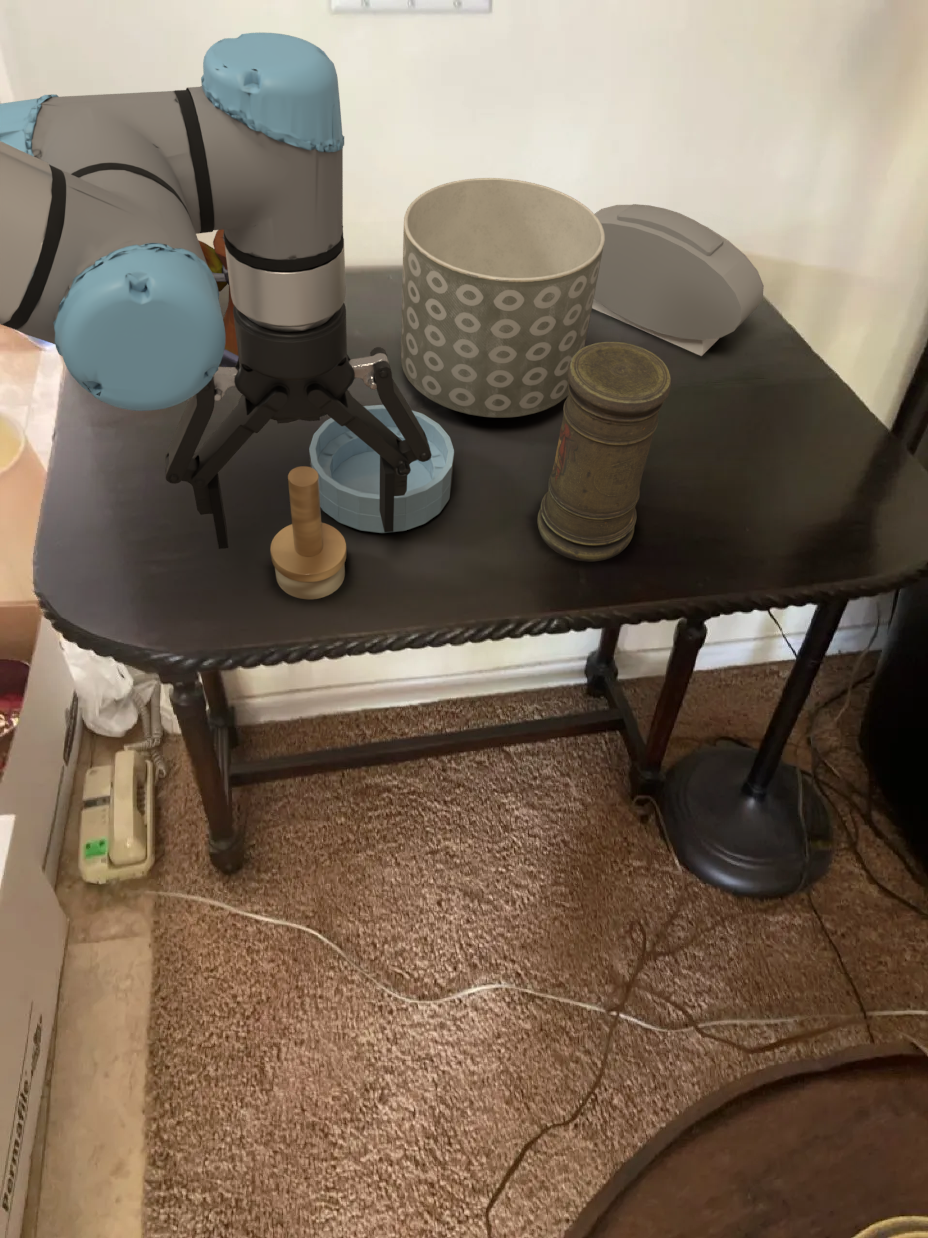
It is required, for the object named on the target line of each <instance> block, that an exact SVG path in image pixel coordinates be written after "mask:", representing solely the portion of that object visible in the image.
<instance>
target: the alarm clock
mask: <svg viewBox="0 0 928 1238" xmlns="http://www.w3.org/2000/svg"><path fill="white" fill-rule="evenodd" d="M594 214H595V215H596V217H597V218H598V219H599V221H600V223H601V224H602V227H603V230H604V234H605V242H604V247H603V252H602V258H601V263H600V268H599V273H598V279H597V284H596V289H595V294H594V300H593V305H592V309H593V310H595V311H597V312H599V313H601V314H605V315H606V316H609V317H611V318H613V319H616V320H618V321H620V322H622V323H624V324H627V325H630V326H631V327H633V328H636V329H638V330H641V331H643V332H645V333H648V334H650V335H652V336H653V337H657V338H659V339H661V340H664V341H666V342H668V343H671V344H673V345H675V346H677V347H680V348H682V349H683V350H687V351H689V352H691V353H693V354H695V355H698V356H700V357H702V356H703V355H704V354H706V352H708V351H709V349H711V347H712V346H714V345H715V343H716V342H717V341H718V340H719V339H721V338H723V337H725V336H727V335H730V334H731V333H733V332H735V331H736V330H737V328H738V327H739V326H741V325H742V324H743V323H744V322H745V320H747V319H748V318H749V317H750V316H751V315H752V314H753V313H754V312H755V310H757V308H758V307H759V305H760V304H761V303H762V301H763V300H764V290H765V289H764V288H765V286H764V283H763V280H762V278H761V276H760V273H759V271H758V269H757V268H756V267H755V265H754V264H753V263H752V261H751V260H750V259H749V258H748V256H747V255H746V254H745V253H743V251H741V250H740V249H739V248H738V247H736V246H735V244H733V243H732V242H731V241H730V240H729V239H727V238H725V237H724V236H722V235H721V234H719V233H717V232H716V231H715V230H713V229H712V228H710V227H708V226H706V225H704V224H702V223H700V222H698V221H697V220H695V219H693V218H691V217H689V216H687V215H685V214H682V213H680V212H677V211H675V210H670V209H668V208H664V207H661V206H654V205H651V204H650V205H649V204H637V203H633V204H615V205H611V206H608V207H607V206H606V207H603V208H600V209H599V210H598V211H596V212H594Z"/></svg>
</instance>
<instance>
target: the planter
mask: <svg viewBox="0 0 928 1238" xmlns="http://www.w3.org/2000/svg"><path fill="white" fill-rule="evenodd" d="M402 242H403V243H402V279H401V280H402V281H401V283H402V285H401V325H400V364H401V367H402V371H403V373H404V375H405V377H406V379H407V380H408V381H409V383H410V384H411V386H413V387H414V388H415V389H416V390H417V391H418V392H419V393H420V394H421V395H423V396H425V397H426V398H427V399H429V400H430V401H432V402H434V403H436V404H438V405H440V406H442V407H444V408H447V409H449V410H452V411H455V412H457V413H458V412H459V413H463V414H465V415H470V416H477V417H483V418H496V419H497V418H500V419H501V418H517V417H525V416H528V415H534V414H536V413H541V412H543V411H546V410H548V409H550V408H553V407H555V406H556V405H557V404H559V403H561V402H562V401H563V400H565V399H567V398H568V394H569V389H568V382H569V380H568V375H567V370H568V365H569V363H570V361H571V359H572V357H573V356H574V355H575V354H576V353H577V352H578V351H579V350H581V349H582V348H584V347H586V341H587V335H588V331H589V326H590V319H591V314H592V309H593V308H592V305H593V300H594V294H595V289H596V284H597V279H598V273H599V268H600V263H601V258H602V252H603V247H604V242H605V234H604V230H603V227H602V224H601V223H600V221H599V219H598V218H597V217H596V215H595V212H593V211H592V210H591V209H590V208H589V207H587V206H586V205H585V204H584V203H582V202H581V201H580V200H578V199H576V198H574V197H572V196H570V195H569V194H568V193H565V192H562V191H560V190H557V189H555V188H552V187H549V186H546V185H542V184H539V183H535V182H531V181H526V180H520V179H512V178H501V177H477V178H475V177H474V178H466V179H459V180H454V181H450V182H447V183H443V184H440V185H437V186H434V187H432V188H430V189H428V190H426V191H424V192H422V193H421V194H420V195H418V196H417V197H416V198H415V199H413V200H412V201H411V203H410V204H409V205H408V206H407V208H406V211H405V213H404V217H403V236H402Z"/></svg>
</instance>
